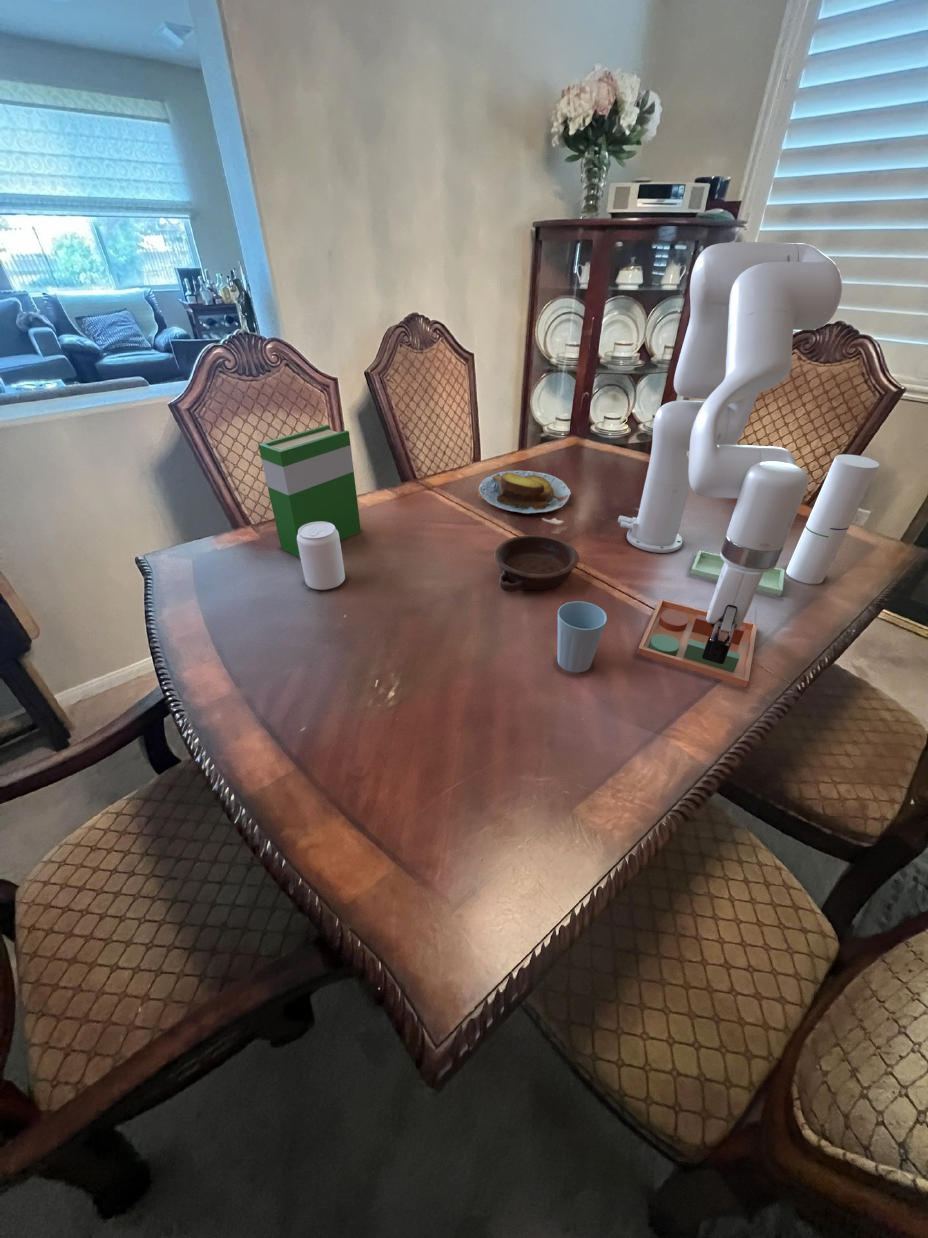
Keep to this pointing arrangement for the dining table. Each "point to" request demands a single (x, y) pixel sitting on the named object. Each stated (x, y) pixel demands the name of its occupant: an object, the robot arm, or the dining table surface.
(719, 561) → the sage tray
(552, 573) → the dish
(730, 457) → the robot arm
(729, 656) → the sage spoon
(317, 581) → the beverage can
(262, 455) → the hardback book
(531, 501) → the food on plate
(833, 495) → the cylindrical container
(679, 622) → the terracotta cylinder and block
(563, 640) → the cup
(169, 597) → the dining table surface
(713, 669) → the terracotta tray
